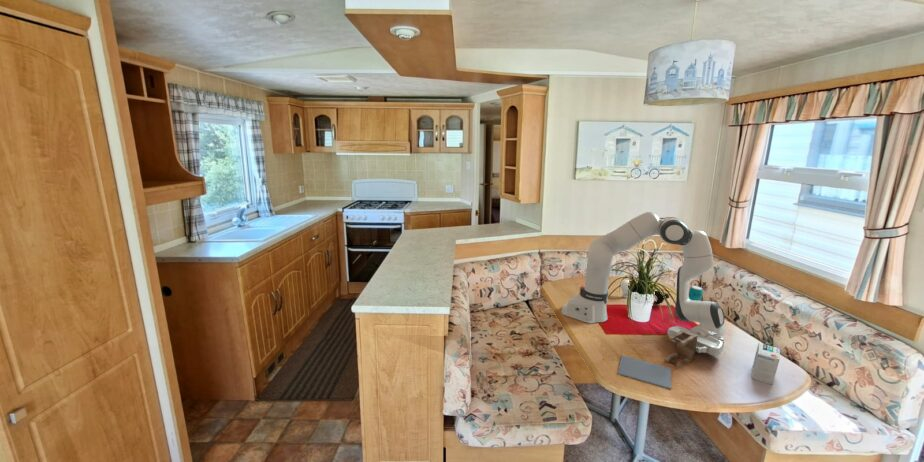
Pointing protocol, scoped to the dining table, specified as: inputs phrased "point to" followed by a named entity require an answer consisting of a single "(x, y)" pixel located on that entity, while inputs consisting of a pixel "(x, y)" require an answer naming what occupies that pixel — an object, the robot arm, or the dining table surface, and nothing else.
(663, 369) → the mat
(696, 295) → the beverage can
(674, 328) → the robot arm
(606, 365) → the dining table surface
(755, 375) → the light bulb box
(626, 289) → the lightbulb
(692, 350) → the stool
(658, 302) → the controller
